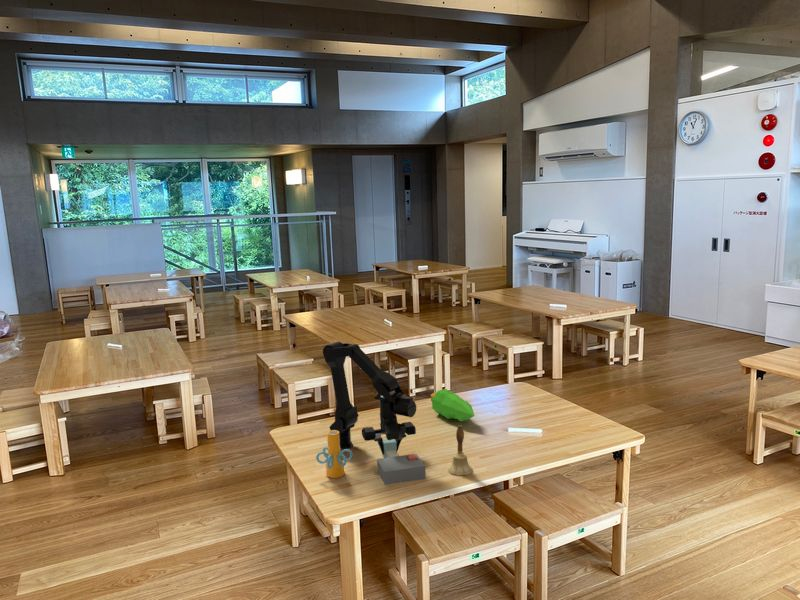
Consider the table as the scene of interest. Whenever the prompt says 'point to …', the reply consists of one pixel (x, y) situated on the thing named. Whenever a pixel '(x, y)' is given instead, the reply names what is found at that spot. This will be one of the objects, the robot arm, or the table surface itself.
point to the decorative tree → (451, 405)
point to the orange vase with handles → (334, 456)
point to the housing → (400, 469)
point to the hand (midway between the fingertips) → (389, 453)
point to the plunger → (411, 457)
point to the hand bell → (460, 457)
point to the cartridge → (390, 448)
